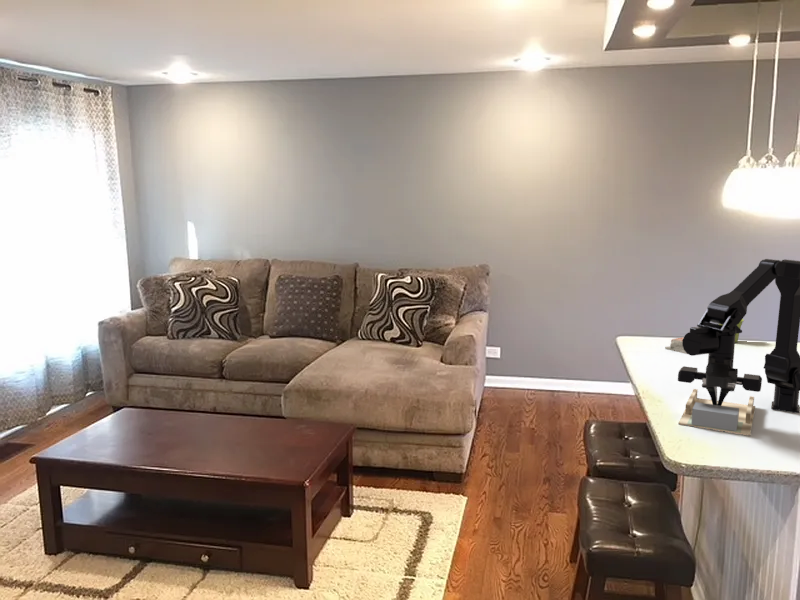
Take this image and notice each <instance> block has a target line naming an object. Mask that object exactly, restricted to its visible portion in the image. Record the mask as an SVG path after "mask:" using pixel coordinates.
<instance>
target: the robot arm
mask: <svg viewBox="0 0 800 600" xmlns="http://www.w3.org/2000/svg"><path fill="white" fill-rule="evenodd" d="M773 281H774V283H775V285H776V288H777V289H778V291H779V293H780V297H779V298H780V299H779V308H778V316H777V317H778V318H777V325H776V335H775V337H776V338H775V345H774V349H772V351H771V352H770V353H766V354H765V355H764V366H763V369H764V373H765V376H766V382H767V383H768V384H772V385H774V391H773V393H774V394H773V395H774V396H773V401H771V407H770V410H775V411H780V412H781V411H783V412H788V413H794V414H795V413H796V414H799V413H800V404H799V398H800V353H799V352H798V342H799V331H800V260H794V259H782V260H779V259H769V258H765V259H762V260H760V262H759V263H758V266H757V267H755V268H754V270H753V271H752V272H751V273H749V274H748V275H747V276H746V277H745V278H744V279H743V280H742V281H741V282H740V283H739V284H738V285H737V286H736V287H735V288H734V289H732V290H731V291H730V292H728V293H725V294H722V295H720V296H718V297H716V298H715V299H713V300H712V301H711V302H709V303H708V306H707V308H706V309H705V311H704V313H703V315H702V317H701V318H700V320H699V321H698V323H697V325H696V326H690V328H689V332H687V333H686V334H685V335H684V336H683V337H684V339H683V340H682V345H683V348H684V350H685V352H686V353H687V354H686V355H689V356H701V355H708V359H707V364H706V367H705V372H701V371H699V370H698V367H692V366H685V365H684V366H682V367H680V369H679V370H678V375H677V381H678V382H681V383H689V384H692V383H693V382H694V381H695V380H700V381H702V384H701V387H702V388H703V389H706V390H707V392H708V395H709V397H710V400H712V403H713V405H720V406H721V405H722V403H723V402H724V400H725V399H726V396H728V394H729V393H730V392H735V390H736V389H735V388H736V385H740V386H742V388H743V389H744V390H745V391H748V392H749V391H750V392H755V393H759V392H761V390H762V385H763V384H762V383H763V377H761V375H760V374H750V373H744V375H743V377H742V376H738V374H739V373H738V368H734V359H735V346H736V345H735V344H736V342H735V335H736V334H737V333H739V334H742V333H743V330H742V329H741V328H739V327H738V326H737V325H738V324H739V323H740V321H741V320H742V319H743V320H744V317H745V316H746V315H747V313H748V311H747V310H748V306H749V305H750V304H751V302H753V301H754V300H755V298H757V297H758V296H759V295H760V294H761V293H762V292H764V290H765V289H766V288H767V287H768V286H770V284H771V283H772V282H773ZM719 324H722V325H719ZM718 388H719V389H720V392H719V397H718ZM717 401H718V404H717Z"/></svg>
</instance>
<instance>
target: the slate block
mask: <svg viewBox="0 0 800 600" xmlns="http://www.w3.org/2000/svg"><path fill="white" fill-rule="evenodd" d="M738 418H739V408H734V407H727V406H720V405H712V404H705V403H698V402H695V405H694V407H693V409H692V424H693V425H699V426H706V427H712V428H719V429H725V430H731V431H736V430H737V426H738Z"/></svg>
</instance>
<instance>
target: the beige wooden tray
mask: <svg viewBox="0 0 800 600" xmlns="http://www.w3.org/2000/svg"><path fill="white" fill-rule="evenodd" d="M698 390H699V389H697V388H693V389H692V391H691V394H690V395H689V398H688V399H687V402H686V403H685V409H684V411H683V413H682V415H681V417H680V420H678V424H680V426H685V425H688V426H687V427H691V426H694V427H693V428H697V427H699V428H698V429H704V428H707V429H706V430H710V429H713V430H712V431H717V430H719V431H718V432H723V431H725V432H724V433H729V432H731V434H737V435H742V434H743V435H744V436H748V435H749V436H751V433H752V432H751V431H752V428H753V421H754V417H755V411H756V405H754V402H755V397H754V396H752V395H750V396H749V399H748V403H747V404H744V403H735V402H728V401H723V403H722V405H721V406H727V407H734V408H739V418H738V426H737V430H736V431H731V430H725V429H719V428H712V427H706V426H699V425H693V424H692V409H693V407H694V405H695V402H698V403H705V404H712V405H713V403H712V400H711V399H706V398H698V393H699V391H698ZM717 404H718V400H717ZM749 436H748V437H749Z"/></svg>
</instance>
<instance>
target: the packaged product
mask: <svg viewBox="0 0 800 600" xmlns="http://www.w3.org/2000/svg"><path fill="white" fill-rule="evenodd" d="M683 339H684V336H683V337H678V338H672V339H670V344H669V345H670V346H669V345H668V346H665V347H664V349H665V350H668V351H672V352H677V353H681V354H685V355H688V354H687V353H686V352H685V350H684V348H683V345H682V340H683Z"/></svg>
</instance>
